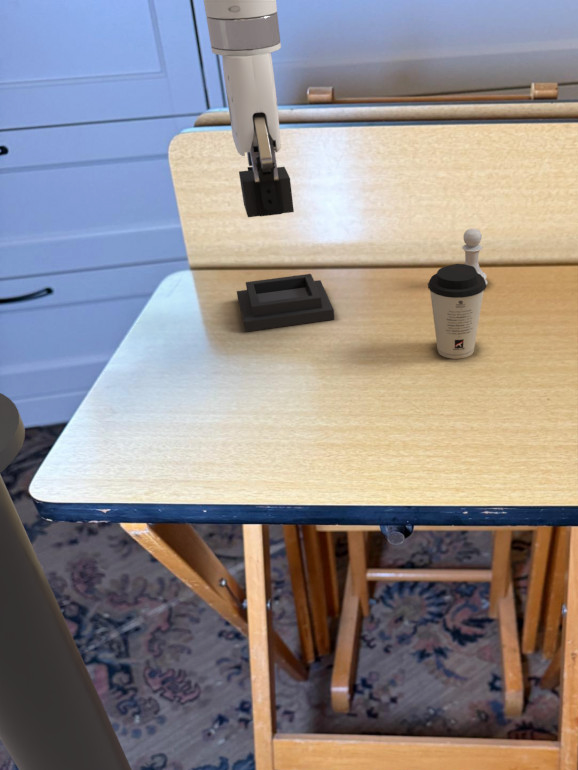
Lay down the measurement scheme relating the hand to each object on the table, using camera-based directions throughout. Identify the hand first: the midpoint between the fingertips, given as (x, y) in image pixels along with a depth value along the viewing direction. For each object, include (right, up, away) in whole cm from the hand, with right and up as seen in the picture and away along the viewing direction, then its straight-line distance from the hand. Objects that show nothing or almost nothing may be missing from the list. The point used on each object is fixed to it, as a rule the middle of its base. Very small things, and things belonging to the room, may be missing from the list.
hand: (267, 205), depth 97 cm
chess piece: (+27, -5, +17) cm, 32 cm away
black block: (0, 0, 0) cm, 0 cm away
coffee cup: (+23, -17, +3) cm, 29 cm away
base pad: (0, -9, +12) cm, 16 cm away
